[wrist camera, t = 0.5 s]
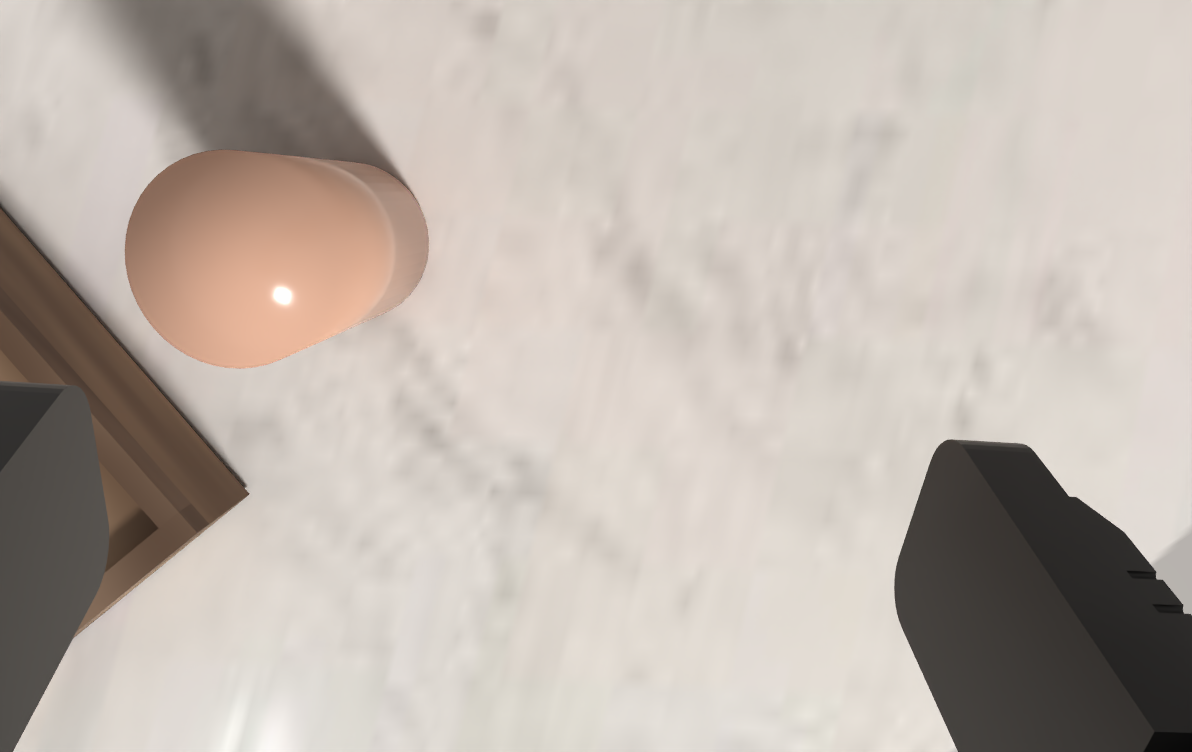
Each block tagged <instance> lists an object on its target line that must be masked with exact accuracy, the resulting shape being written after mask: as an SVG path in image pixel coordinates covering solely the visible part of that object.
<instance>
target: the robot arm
mask: <svg viewBox="0 0 1192 752" xmlns="http://www.w3.org/2000/svg"><path fill="white" fill-rule="evenodd" d="M108 549H109V522H108V515H107V509H106V503H105V497H104V491H103V484H102V478H101V472H100V466H99V460H98V454H97V447H96V441H95V435H94V429H93V423H92V417H91V411H90V406H89V403H88V400H87V397H86V395H85V393H84V392H83V391H82V389H81V388H79V387H78V386H74V385H60V384H43V383H26V382H10V381H0V752H13V750H14V748H15V747H16V745H17V743H18V741H19V739H20V737H21V735H22V733H23V732H24V730H25V728H26V726H27V724H28V722H29V720H30V718H31V716H32V715H33V713H34V711H35V709H36V707H37V705H38V703H39V701H40V699H41V698H42V696H43V694H44V692H45V690H46V688H47V686H48V684H49V682H50V681H51V679H52V677H53V675H54V673H55V671H56V669H57V667H58V666H59V664H60V662H61V660H62V658H63V656H64V654H65V652H66V650H67V649H68V647H69V645H70V643H71V641H72V639H73V637H74V635H75V633H76V632H77V630H78V628H79V626H80V624H81V622H82V620H83V618H84V616H85V615H86V613H87V611H88V609H89V607H90V605H91V603H92V601H93V600H94V598H95V596H96V594H97V592H98V589H99V587H100V585H101V582H102V579H103V575H104V572H105V568H106V563H107V557H108ZM894 590H895V603H896V610H897V614H898V618H899V621H900V624H901V627H902V629H903V631H904V633H905V636H906V638H907V640H908V642H909V644H910V647H911V649H912V651H913V653H914V656H915V658H916V660H917V662H918V664H919V667H920V669H921V671H922V673H923V675H924V678H925V680H926V682H927V684H928V686H929V689H930V691H931V693H932V695H933V697H934V700H935V702H936V704H937V706H938V708H939V711H940V713H941V715H942V717H943V719H944V722H945V724H946V726H947V728H948V730H949V733H950V735H951V737H952V739H953V742H954V744H955V746H956V748H957V750H958V752H1192V615H1191V614H1184V613H1183V604H1182V603H1181V602H1180V601H1179V599H1178V598H1177V597H1176V596H1175V594H1174V593H1173V592H1172V591H1171V589H1170V588H1169V587H1168V586H1167V585H1166V583H1165V582H1164V581H1163V580H1157V579H1156V571H1155V570H1154V568H1153V567H1152V566H1151V565H1150V564H1149V562H1148V561H1147V560H1146V559H1145V557H1144V556H1143V555H1142V554H1141V552H1140V551H1139V550H1138V549H1137V548H1136V546H1135V545H1134V544H1133V543H1132V541H1131V540H1130V539H1129V538H1128V536H1127V535H1126V534H1125V533H1124V532H1123V531H1122V530H1120V529H1119V528H1118V527H1116V526H1115V525H1114V524H1112V523H1111V522H1110V521H1108V520H1107V519H1105V518H1104V517H1103V516H1101V515H1100V514H1099V513H1097V512H1096V511H1095V510H1093V509H1092V508H1090V507H1089V506H1088V505H1086V504H1085V503H1084V502H1082V501H1081V500H1080V499H1078V498H1077V497H1069V496H1068V495H1067V493H1066V492H1065V491H1064V490H1063V488H1062V487H1061V486H1060V484H1059V483H1058V482H1057V481H1056V479H1055V478H1054V477H1053V475H1052V474H1051V473H1050V471H1049V470H1048V469H1047V468H1046V466H1045V465H1044V464H1043V462H1042V461H1041V460H1040V459H1039V457H1038V456H1037V455H1036V453H1035V452H1034V451H1033V450H1032V449H1031V448H1030V447H1028V446H1027V445H1024V444H1018V443H1001V442H985V441H968V440H946V441H944V442H943V443H941V444H940V445H939V447H938V448H937V449H936V451H935V453H934V454H933V457H932V459H931V462H930V465H929V468H928V471H927V474H926V477H925V480H924V483H923V486H922V489H921V492H920V495H919V498H918V501H917V504H916V507H915V510H914V513H913V516H912V519H911V522H910V525H909V528H908V531H907V534H906V537H905V540H904V543H903V546H902V549H901V552H900V555H899V558H898V562H897V566H896V572H895V586H894Z"/></svg>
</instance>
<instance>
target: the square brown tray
mask: <svg viewBox="0 0 1192 752" xmlns="http://www.w3.org/2000/svg"><path fill="white" fill-rule="evenodd" d="M0 381H10V382H26V383H43V384H60V385H74V386H78V387H79V388H81V389H82V391H83V392H84V393H85V395H86V397H87V400H88V403H89V406H90V411H91V417H92V423H93V429H94V435H95V441H96V447H97V454H98V460H99V466H100V472H101V478H102V484H103V491H104V497H105V503H106V509H107V515H108V522H109V549H108V557H107V563H106V568H105V572H104V575H103V579H102V582H101V585H100V587H99V589H98V592H97V594H96V596H95V598H94V600H93V601H92V603H91V605H90V607H89V609H88V611H87V613H86V615H85V616H84V618H83V620H82V622H81V624H80V626H79V628H78V630H77V632H76V633H75V635H74V637H75V636H77V635H78V634H79V633H80V632H81V631H83V630H84V629H85V628H86V627H88V626H89V625H90V624H91V623H92V622H94V621H95V620H96V619H97V618H99V617H100V616H101V615H102V614H103V613H105V612H106V611H107V610H108V609H110V608H111V607H112V606H113V605H114V604H116V603H117V602H118V601H119V600H121V599H122V598H123V597H124V596H125V595H127V594H128V593H129V592H130V591H132V590H133V589H134V588H135V587H136V586H138V585H139V584H140V583H141V582H143V581H144V580H145V579H146V578H148V577H149V576H150V575H151V574H152V573H154V572H155V571H156V570H157V569H159V568H160V567H161V566H162V565H163V564H165V563H166V562H167V561H168V560H170V559H171V558H172V557H173V556H174V555H176V554H177V553H178V552H179V551H181V550H182V549H183V548H184V547H185V546H187V545H188V544H189V543H190V542H192V541H193V540H194V539H195V538H196V537H198V536H199V535H200V534H201V533H203V532H204V531H205V530H206V529H207V528H209V527H210V526H211V525H212V524H214V523H215V522H216V521H217V520H218V519H220V518H221V517H222V516H223V515H225V514H226V513H227V512H228V511H230V510H231V509H232V508H233V507H234V506H236V505H237V504H238V503H239V502H241V501H242V500H243V499H244V498H245V497H247V496H248V495H249V493H248V492H247V491H246V490H245V488H244V487H243V486H242V485H241V484H240V483H239V482H238V480H237V479H236V478H235V477H234V476H233V475H232V474H231V472H230V471H229V470H228V469H227V468H226V467H225V466H224V464H223V463H222V462H221V461H220V460H219V459H218V457H217V456H216V455H215V454H214V453H213V452H212V451H211V449H210V448H209V447H208V446H207V445H206V444H205V443H204V441H203V440H202V439H201V438H200V437H199V436H198V435H197V433H196V432H195V431H194V430H193V429H192V428H191V426H190V425H189V424H188V423H187V422H186V421H185V420H184V418H183V417H182V416H181V415H180V414H179V413H178V412H177V410H176V409H175V408H174V407H173V406H172V405H171V404H170V402H169V401H168V400H167V399H166V398H165V397H164V395H163V394H162V393H161V392H160V391H159V390H158V389H157V387H156V386H155V385H154V384H153V383H152V382H151V381H150V379H149V378H148V377H147V376H146V375H145V374H144V373H143V371H142V370H141V369H140V368H139V367H138V366H137V364H136V363H135V362H134V361H133V360H132V359H131V358H130V356H129V355H128V354H127V353H126V352H125V351H124V350H123V348H122V347H121V346H120V345H119V344H118V343H117V341H116V340H115V339H114V338H113V337H112V336H111V335H110V333H109V332H108V331H107V330H106V329H105V328H104V327H103V325H102V324H101V323H100V322H99V321H98V320H97V319H96V317H95V316H94V315H93V314H92V313H91V312H90V310H89V309H88V308H87V307H86V306H85V305H84V304H83V302H82V301H81V300H80V299H79V298H78V297H77V296H76V294H75V293H74V292H73V291H72V290H71V289H70V288H69V286H68V285H67V284H66V283H65V282H64V281H63V279H62V278H61V277H60V276H59V275H58V274H57V273H56V271H55V270H54V269H53V268H52V267H51V266H50V265H49V263H48V262H47V261H46V260H45V259H44V258H43V257H42V255H41V254H40V253H39V252H38V251H37V250H36V248H35V247H34V246H33V245H32V244H31V243H30V242H29V240H28V239H27V238H26V237H25V236H24V235H23V234H22V232H21V231H20V230H19V229H18V228H17V227H16V226H15V224H14V223H13V222H12V221H11V220H10V219H9V217H8V216H7V215H6V214H5V213H4V212H3V211H2V209H1V208H0ZM74 637H73V638H74Z"/></svg>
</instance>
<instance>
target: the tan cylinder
mask: <svg viewBox="0 0 1192 752" xmlns="http://www.w3.org/2000/svg"><path fill="white" fill-rule="evenodd" d="M428 251H429V237H428V229H427V225H426V221H425V218H424V215H423V213H422V210H421V208H420V206H419V205H418V203H417V201H416V199H415V198H414V197H413V195H412V194H411V192H410V191H409V190H408V189H407V188H406V187H405V186H404V185H403V184H402V183H401V182H400V181H399V180H397V179H396V178H395V177H394V176H392V175H390V174H389V173H387V172H386V171H384V170H381V169H379V168H377V167H374V166H371V165H368V164H363V163H358V162H348V161H338V160H328V159H318V158H308V157H298V156H288V155H278V154H268V153H258V152H248V151H238V150H213V151H205V152H201V153H197V154H193V155H191V156H188V157H186V158H183V159H181V160H179V161H177V162H175V163H174V164H172V165H170V166H168V167H167V168H166V169H165V170H163V171H162V172H161V173H160V174H158V175H157V176H156V177H155V178H154V179H153V180H152V181H151V182H150V184H149V185H148V186H147V187H146V189H145V190H144V191H143V193H142V194H141V196H140V197H139V199H138V201H137V203H136V205H135V207H134V209H133V212H132V215H131V217H130V220H129V224H128V228H127V233H126V241H125V264H126V269H127V275H128V280H129V283H130V286H131V290H132V292H133V295H134V297H135V299H136V302H137V304H138V306H139V307H140V309H141V311H142V312H143V314H144V316H145V317H146V319H147V320H148V321H149V323H150V324H151V325H152V327H153V328H154V329H155V330H156V331H157V332H158V333H159V334H160V335H161V336H162V337H163V338H164V339H165V340H166V341H167V342H169V343H170V344H171V345H172V346H174V347H175V348H177V349H178V350H180V351H181V352H183V353H185V354H186V355H188V356H190V357H192V358H194V359H197V360H199V361H201V362H205V363H208V364H211V365H215V366H220V367H225V368H252V367H258V366H262V365H267V364H270V363H273V362H275V361H278V360H281V359H283V358H285V357H287V356H290V355H292V354H294V353H296V352H299V351H301V350H303V349H305V348H307V347H310V346H312V345H314V344H316V343H319V342H321V341H323V340H325V339H328V338H330V337H332V336H334V335H337V334H339V333H341V332H343V331H346V330H348V329H350V328H352V327H355V326H357V325H359V324H361V323H364V322H366V321H368V320H370V319H373V318H375V317H377V316H379V315H381V314H384V313H386V312H388V311H390V310H392V309H393V308H395V307H396V306H398V305H399V304H401V303H402V302H403V301H404V300H405V299H406V298H407V297H408V296H409V295H410V294H411V293H412V292H413V290H414V289H415V288H416V286H417V284H418V283H419V281H420V279H421V277H422V275H423V272H424V270H425V267H426V263H427V258H428Z"/></svg>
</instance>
